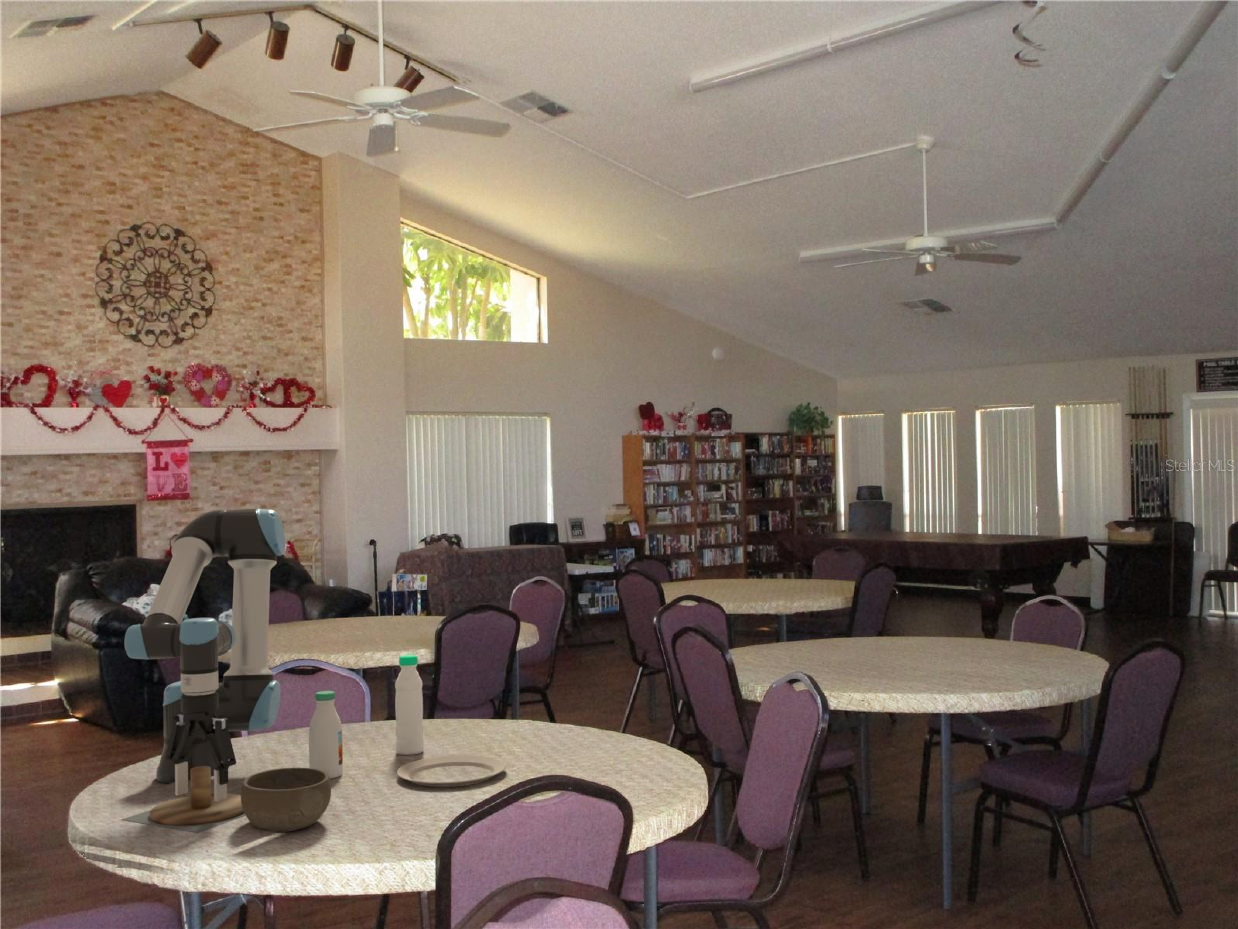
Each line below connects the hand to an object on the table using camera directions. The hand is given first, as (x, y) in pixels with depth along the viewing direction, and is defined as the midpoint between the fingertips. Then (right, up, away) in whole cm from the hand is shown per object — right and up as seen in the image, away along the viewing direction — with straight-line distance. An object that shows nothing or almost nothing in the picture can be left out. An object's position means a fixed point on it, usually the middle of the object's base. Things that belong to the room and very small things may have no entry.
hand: (201, 796), depth 233 cm
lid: (0, -3, 0) cm, 3 cm away
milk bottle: (+18, -5, +31) cm, 36 cm away
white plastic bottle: (+34, -5, +53) cm, 63 cm away
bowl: (+21, -4, -8) cm, 23 cm away
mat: (0, -4, 0) cm, 4 cm away
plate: (+49, -4, +29) cm, 57 cm away
